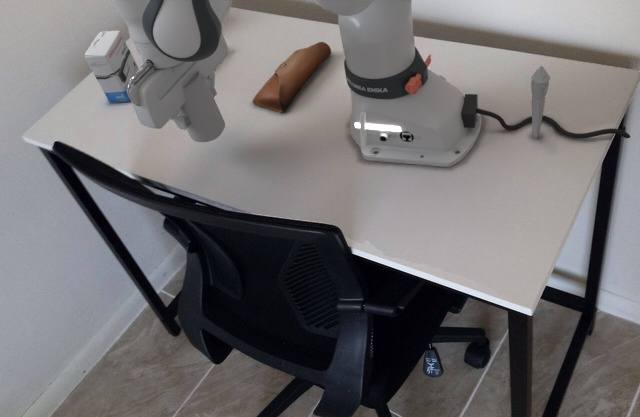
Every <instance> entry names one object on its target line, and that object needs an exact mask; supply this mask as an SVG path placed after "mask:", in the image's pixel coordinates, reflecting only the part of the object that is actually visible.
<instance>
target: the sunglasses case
mask: <svg viewBox="0 0 640 417" xmlns="http://www.w3.org/2000/svg"><path fill="white" fill-rule="evenodd" d="M331 54H332V49H331V46H330V45H329V44H328V43H326V42H325V41H319V42H316V43H315V44H311V45H310V46H308V47H305V48H301V49H298V50H295V51H294V52H293V53H291V55H289V56H288V57H287V58H286V60H284V61H282V62H281V63H280V65H278V66H277V68H276V69H275V70H274V73H273V74H272V75H271V77H270V78H268V80H267V81H266V82H265V83H264V85H263V86H262V87H261V88H260V89H259V91H258V92H257V93H256V94H255V96H254V97H253V99H252V103H253V104H254V105H256V106H259V107H260V108H263V109H266V110H268V111H269V110H270V111H273V112H276V113H279V114H282V113H285V112H286V110H287V109H288V108H289V107H290V106H291V104H292V103H293V102H294V100H295V99H296V98H297V96H298V95H299V94H300V93H301V91H302V90H303V88H304V87H305V85H306V84H307V83H308V82H310V79H311V78H312V77H313V76H314V75H315V73H316V72H317V71H318V70H319V69H320V67H321V66H322V65H323V64H324V62H325V61H326V60H327V59H328V58H329V57H330V55H331Z"/></svg>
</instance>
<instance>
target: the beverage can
mask: <svg viewBox="0 0 640 417" xmlns="http://www.w3.org/2000/svg"><path fill="white" fill-rule="evenodd" d="M183 89H184V97H185V100H186V102H185V103H184V104H183V105H182V106H181V107H180V109H179V112H180V114H179V115H182V116H187V117H188V118H189V121H190V122H191V124H190V125H189V127H188V128H187V129H186V131H187V133H188V135H189V137H190V138H191V139H192V141H194V142H197V143H209V142H213V141H214V140H216V139H218V138H219V137H220V136H221V135H222V134H223V132H224V130H225V127H226V121H225V119H224V118H223V115H222V113H221V110H220V108H219V107H218V104H217V101H216V99H215V97H213V95H212V93H211V91H210V88H209V86H208V84H207V82H206V80H205V77H204V75H202V74H200V72H199V71H198V73H196V75H195V76H194V77H193V79H192V80H191V81H190V82H189V83H188V84H186V85H185V87H184V88H183ZM179 115H178V116H179Z"/></svg>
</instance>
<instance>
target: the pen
mask: <svg viewBox="0 0 640 417" xmlns="http://www.w3.org/2000/svg"><path fill="white" fill-rule="evenodd" d="M530 79H531V81H530V89H531V107H530V108H531V116H532V121H531V134H532V137H534V138H535V139H537V138H538V137H540V133H541V129H542V128H541V127H542V122H543V120H542V116H543V115H544V110H545V104H546V96H547V94H548V90H549V86H550V81H551V76H550V75H549V73H548V71H547V70H546V69H545V68H544V66H543V65H540V66H539V67H538V68H537V69H536V70H535V71H534V73H533V74H532V75H531V77H530Z"/></svg>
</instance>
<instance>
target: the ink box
mask: <svg viewBox="0 0 640 417" xmlns="http://www.w3.org/2000/svg"><path fill="white" fill-rule="evenodd" d="M84 55H85V56H84V59H85V61H86V63H87V64H88V66H89V67H90V70H91V71H92V73H93V75H94V77H95V78H96V79H95V80H96V81H97V82H98V84H99V86H100V88H101V90H102V91H103V93H104V95H105V97H106V99H107V100H108V102H109V103H110V104H114V103H128V102H131V100H130V98H129V96H128V94H127V89H128V84H129V82H130V81H129V79H130V77H131V76H132V75H133V74H134V73H136V72H137V71H138V70H139V68H140V67H139V66H138V65H137V62H136V60H135V58H134V56H133V54H132V51H131V50H130V48H129V45H128V44H127V41H126V40H125V38H124V36H123V34H122V31H121V30H104V31H103V30H102V31H98V33H97V34H96V36H95V38H94V39H93V41H91V43H90V45H89V47H88V48H87V49H86V51H85V53H84Z"/></svg>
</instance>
